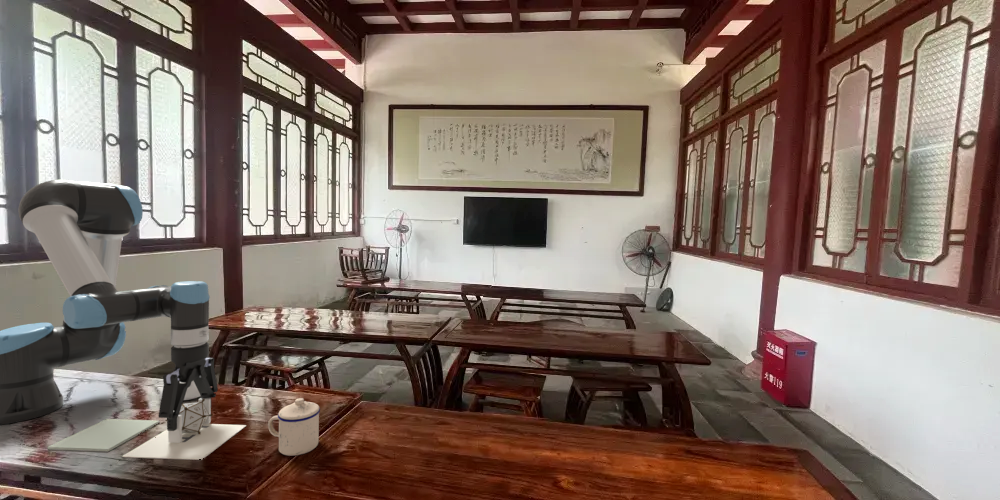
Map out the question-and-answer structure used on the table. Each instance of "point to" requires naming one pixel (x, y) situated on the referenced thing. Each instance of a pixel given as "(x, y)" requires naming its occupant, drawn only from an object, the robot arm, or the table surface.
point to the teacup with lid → (297, 427)
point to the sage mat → (104, 435)
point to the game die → (193, 416)
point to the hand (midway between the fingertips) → (190, 432)
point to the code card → (186, 443)
